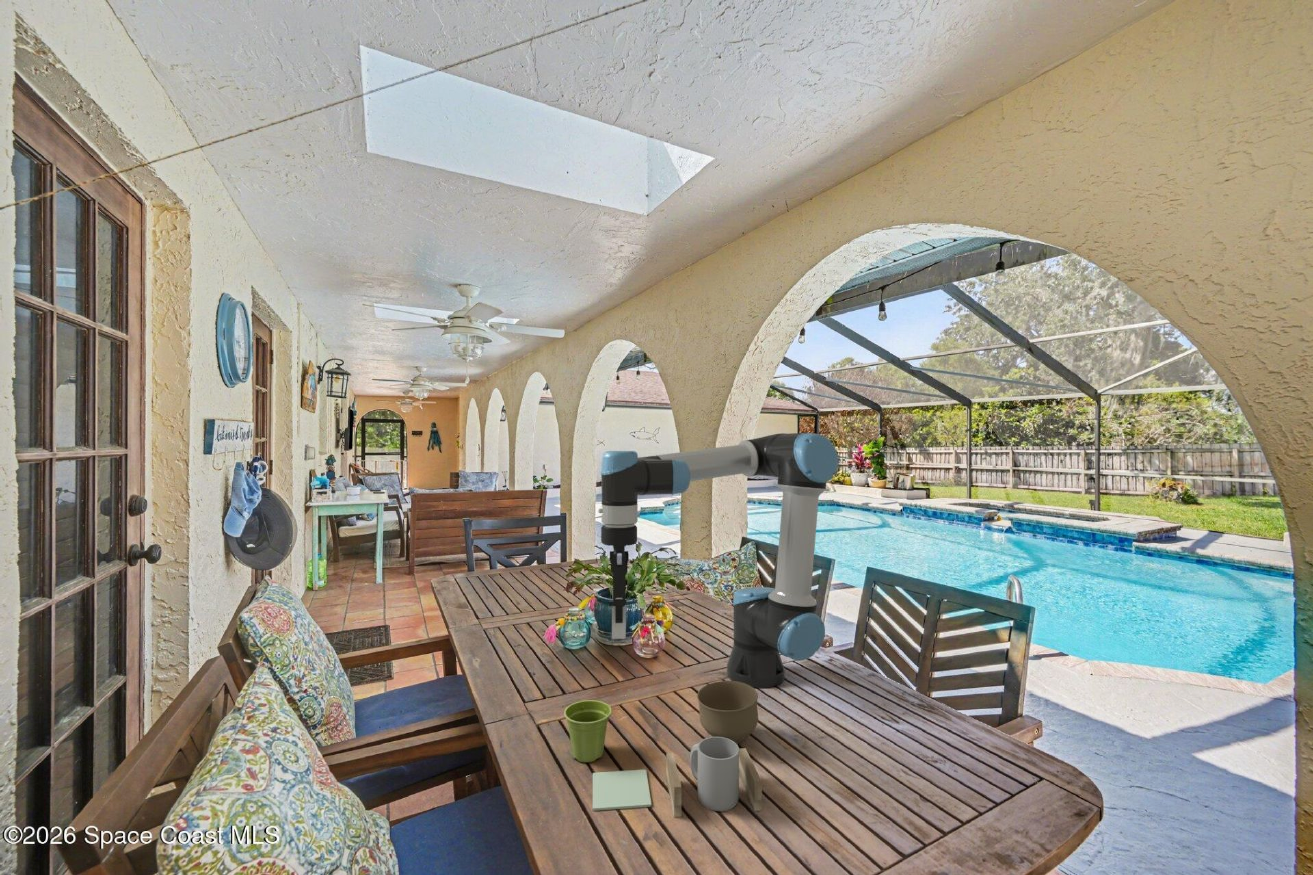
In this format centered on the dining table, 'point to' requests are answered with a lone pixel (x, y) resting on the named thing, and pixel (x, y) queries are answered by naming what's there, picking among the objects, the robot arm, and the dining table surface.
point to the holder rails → (745, 772)
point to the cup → (716, 772)
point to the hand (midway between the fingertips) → (618, 626)
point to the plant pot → (587, 728)
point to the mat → (620, 790)
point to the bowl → (728, 709)
